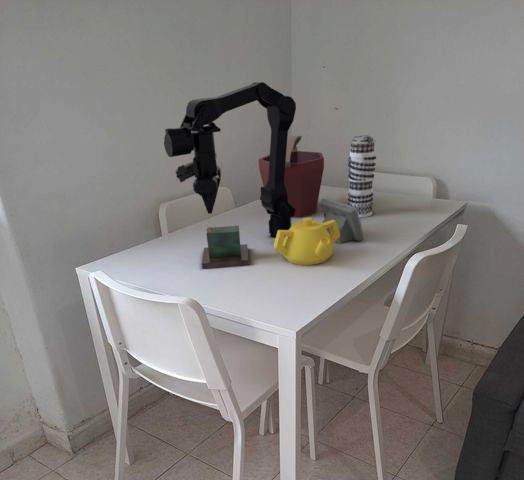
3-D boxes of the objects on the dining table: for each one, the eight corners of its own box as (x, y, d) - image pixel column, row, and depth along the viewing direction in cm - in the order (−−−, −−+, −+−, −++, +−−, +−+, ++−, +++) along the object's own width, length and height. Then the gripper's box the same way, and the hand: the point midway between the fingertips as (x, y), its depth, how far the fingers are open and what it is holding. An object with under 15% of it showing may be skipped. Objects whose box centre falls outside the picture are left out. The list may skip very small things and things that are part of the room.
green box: (240, 248, 144) (238, 224, 141) (241, 255, 140) (238, 230, 136) (210, 251, 144) (207, 227, 141) (209, 258, 140) (206, 233, 136)
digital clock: (366, 242, 147) (368, 206, 142) (339, 247, 145) (340, 211, 139) (340, 227, 160) (341, 194, 155) (315, 232, 158) (315, 198, 152)
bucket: (281, 200, 193) (279, 131, 180) (335, 203, 184) (336, 131, 171) (253, 218, 175) (247, 142, 162) (311, 223, 166) (310, 143, 153)
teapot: (293, 278, 128) (292, 236, 122) (265, 256, 142) (262, 218, 136) (359, 262, 134) (361, 222, 128) (325, 243, 148) (326, 206, 143)
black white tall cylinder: (373, 209, 175) (377, 133, 162) (373, 217, 167) (377, 138, 154) (347, 210, 176) (348, 134, 163) (346, 217, 169) (348, 139, 156)
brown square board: (247, 249, 148) (247, 244, 148) (249, 265, 137) (248, 259, 137) (204, 252, 148) (203, 247, 147) (202, 268, 137) (201, 263, 136)
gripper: (179, 147, 142) (187, 202, 150) (169, 160, 126) (179, 220, 134) (218, 144, 142) (224, 199, 150) (213, 157, 126) (219, 217, 134)
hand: (211, 208), depth 142 cm, fingers open, 9 cm apart
